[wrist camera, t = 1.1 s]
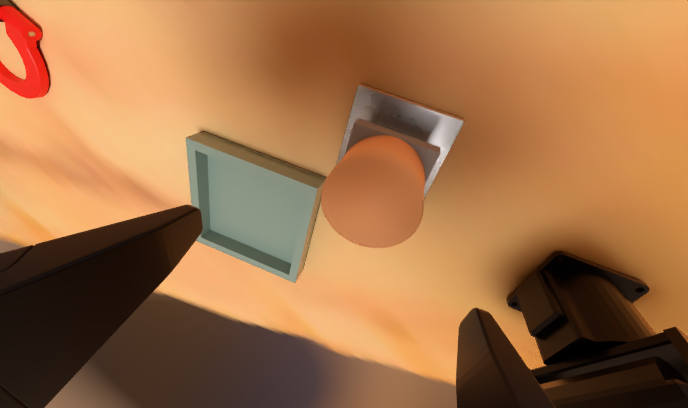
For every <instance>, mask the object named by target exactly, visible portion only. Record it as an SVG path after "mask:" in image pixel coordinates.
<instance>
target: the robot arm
mask: <svg viewBox="0 0 688 408" xmlns="http://www.w3.org/2000/svg"><path fill="white" fill-rule="evenodd" d="M202 230H203V223H202V215H201V210H200V209H199V208H197V207H194V206H191V205H183V206H179V207H176V208H172V209H168V210H164V211H160V212H156V213H153V214H149V215H145V216H141V217H137V218H134V219H130V220H126V221H122V222H118V223H115V224H111V225H107V226H103V227H99V228H96V229H92V230H88V231H84V232H80V233H76V234H73V235H69V236H65V237H61V238H57V239H54V240H50V241H46V242H42V243H38V244H36V245H35V246H33V245H30V246H27V247H23V248H19V249H16V250H12V251H8V252H4V253H0V408H44V407H45V406H46V405H47V404H48V403H49V402H50V401H51V400H52V399H53V398H54V397H55V396H56V395H57V394H58V392H60V390H61V389H62V388H63V387H64V386H65V385H66V384H67V383H68V382H69V381H70V380H71V379H72V378H73V377H74V375H75V374H76V373H77V372H78V371H79V370H80V369H81V368H82V367H83V366H84V365H85V364H86V363H87V362H88V360H89V359H90V358H91V357H92V356H93V355H94V354H95V353H96V352H97V351H98V350H99V349H100V348H101V347H102V346H103V344H104V343H105V342H106V341H107V340H108V339H109V338H110V337H111V336H112V335H113V334H114V333H115V332H116V331H117V330H118V329H119V327H120V326H121V325H122V324H123V323H124V322H125V321H126V320H127V319H128V318H129V317H130V316H131V315H132V314H133V312H134V311H135V310H136V309H137V308H138V307H139V306H140V305H141V304H142V303H143V302H144V301H145V300H146V299H147V298H148V297H149V295H150V294H151V293H152V292H153V291H154V290H155V289H156V288H157V287H158V286H159V285H160V284H161V283H162V282H163V281H164V279H165V278H166V277H167V276H168V275H169V274H170V273H171V272H172V271H173V269H174V268H175V267H176V266H177V264H178V263H179V262H180V260H181V259H182V258H183V256H184V255H185V254H186V253H187V251H188V250H189V249H190V247H191V246H192V245H193V243H194V242H195V241H196V240H197V238H198V237H199V236H200V234H201V232H202ZM561 257H562V258H561ZM558 258H561V259H558ZM648 291H649V287H648V286H647V285H646V284H645V283H644V282H642V281H640V280H637V279H635V278H632V277H629V276H627V275H624V274H621V273H619V272H616V271H613V270H611V269H608V268H605V267H603V266H600V265H597V264H595V263H592V262H590V261H587V260H584V259H582V258H579V257H576V256H574V255H571V254H568V253H566V252H562V251H557V252H554V253H553V254H552V255H551V256H550V257H549V258H548V259H547V260H546V261H545V262H544V263H542V264H541V265H540V266H539V267H538V268H537V269H536V270H535V271H534V272H533V273H532V274H531V275H530V276H529V277H528V278H527V279H526V280H525V281H524V282H523V283H522V284H521V285H520V286H519V287H518V288H517V289H516V290H515V291H514V292H513V293H512V294H511V295H510V296H509V297H508V298H507V303H508V306H509V307H511V308H513V309H516V310H518V311H521V312H523V315H524V318H525V321H526V324H527V327H528V330H529V333H530V335H531V336H533V337H535V339H536V342H537V345H538V348H539V351H540V354H541V356H542V359H543V362H544V364H545V365H546V366H543V367H539V368H536V369H532V370H530V369H529V368H528V367H527V366H526V364H525V363H524V361H523V360H522V358H521V357H520V356H519V354H518V353H517V351H516V350H515V348H514V347H513V345H512V344H511V343H510V341H509V340H508V338H507V337H506V335H505V334H504V333H503V331H502V330H501V328H500V327H499V325H498V324H497V322H496V321H495V320H494V318H493V317H492V315H491V314H490V313H489V312H487V311H484V310H482V309H479V308H473V309H472V310H471V311H470V312H469V313H468V314H467V316H466V317H465V318H464V319H463V320H462V322H461V323H460V326H459V336H458V353H457V370H456V394H457V408H688V337H687V336H686V335H685V334H684V333H683V332H682V331H680V330H679V329H678V328H677V327H673V328H669V329H666V330H663V331H664V332H663V333H659V334H655V332H654V331H653V330H652V328H651V327H650V326H649V325H648V323H647V322H646V321H645V319H644V318H643V317H642V316H641V314H640V313H639V312H638V310H637V309H636V308H635V307H634V305H633V304H632V303H633V302H634V301H636V300H637V299H639V298H640V297H641V296H643V295H644V294H646V293H647V292H648Z"/></svg>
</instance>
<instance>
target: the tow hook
mask: <svg viewBox="0 0 688 408" xmlns="http://www.w3.org/2000/svg"><path fill="white" fill-rule="evenodd" d="M0 22H5V26H6V33H7V35H8V37H9V38H10V39H11V40H12V42H13V43H14V45H15V47H16V48H17V50H18V52H19V53H20V55H21V57H22V59H23V62H24V65H25V68H26V79H25V80H21V79H20V78H18V77H16V76H15V75H14V74H12V73H11V72H10V71H9V70H8V69H7V68H6V67H5V66H4V65H3V64H2V63H1V62H0V82H1V83H2V84H3V85H4V86H6V87H7V88H8V89H10V90H11V91H13V92H15V93H16V94H18V95H20V96H22V97H26V98H37V97H43V96H44V95H45V94H46V93H47V91H48V87H49V79H48V73H47V70H46V67H45V64H44V61H43V59H42V57H41V55H40V53H39V51H38V49H37V43H36V41H38V40H39V39H41V37H42V32H41V30H40V29H38V28H37V27H36V26H35V25H34V24H33V23H31V22H30V21H29V20H28V19H27V18H26V17H25V16H23V15H22V14H21V13H20V12H19V11H18V9H17V8H16V7H15V6H14V5H13V4H11V3H10V2H9V1H8V0H0Z"/></svg>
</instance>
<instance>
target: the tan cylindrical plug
mask: <svg viewBox="0 0 688 408" xmlns="http://www.w3.org/2000/svg"><path fill="white" fill-rule="evenodd" d="M440 154H441V152H440V147H438V146H435V145H433V144H430V143H427V142H424V141H421V140H418V139H416V138H413V137H410V136H407V135H404V134H402V133H399V132H396V131H393V130H390V129H387V128H385V127H382V126H379V125H376V124H373V123H371V122H368V121H365V120H362V119H359V118H358V119H357V120H356V121H355V122H354V124H353V127H352V131H351V135H350V138H349V142H348V145H347V149H346V152H345V155H344V157H343V158H342V159H341V160H340V162H339V163H338V164H337V165H336V167H335V168H334V169H333V170H332V172H331V173H330V174H329V175H328V177H327V178H326V180H325V182H324V184H323V187H322V192H321V204H322V209H323V212H324V215H325V217H326V219H327V220H328V222H329V223H330V225H331V226H332V227H333V228H334V230H335V231H336V232H338V233H339V234H340V235H341V236H343V237H344V238H345V239H347V240H349V241H351V242H353V243H355V244H358V245H361V246H365V247H371V248H385V247H391V246H394V245H397V244H399V243H401V242H403V241H405V240H406V239H408V238H409V237H410V236H411V235H412V234H413V233H414V232H415V231H416V229H417V228H418V226H419V224H420V222H421V219H422V215H423V204H424V187H425V183H426V181H427V179H428V177H429V175H430V173H431V171H432V169H433V167H434V165H435V163H436V161H437V159H438V157H439V156H440Z"/></svg>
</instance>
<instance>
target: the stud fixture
mask: <svg viewBox="0 0 688 408" xmlns="http://www.w3.org/2000/svg"><path fill="white" fill-rule="evenodd" d="M358 118H359V119H362V120H365V121H368V122H371V123H373V124H376V125H379V126H382V127H385V128H387V129H390V130H393V131H396V132H399V133H402V134H404V135H407V136H410V137H413V138H416V139H418V140H421V141H424V142H427V143H430V144H433V145H435V146H438V147H440V152H441V154H440V156H439V157H438V159H437V161H436V163H435V165H434V167H433V169H432V171H431V173H430V175H429V177H428V179H427V181H426V183H425V187H424V198H425V196H426V194H427V192H428V190H429V188H430V186H431V184H432V182H433V180H434V179H435V177H436V175H437V173H438V171H439V169H440V167H441V165H442V163H443V161H444V159H445V158H446V156H447V154H448V152H449V150H450V148H451V146H452V144H453V142H454V140H455V138H456V137H457V135H458V133H459V131H460V129H461V127H462V125H463V123H464V119H463V118H460V117H457V116H454V115H451V114H448V113H445V112H443V111H440V110H437V109H434V108H431V107H428V106H425V105H422V104H419V103H416V102H413V101H410V100H407V99H404V98H402V97H399V96H396V95H393V94H390V93H387V92H384V91H381V90H378V89H375V88H372V87H369V86H366V85H363V84H359V85H358V87H357V91H356V94H355V98H354V102H353V105H352V109H351V113H350V117H349V120H348V124H347V128H346V131H345V135H344V139H343V143H342V146H341V150H340V154H339V157H338V161H337V164H338V163H339V162H340V160H341V159H342V158H343V157H344V155H345V152H346V149H347V145H348V142H349V138H350V135H351V131H352V127H353V124H354V122H355V121H356V120H357V119H358Z"/></svg>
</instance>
